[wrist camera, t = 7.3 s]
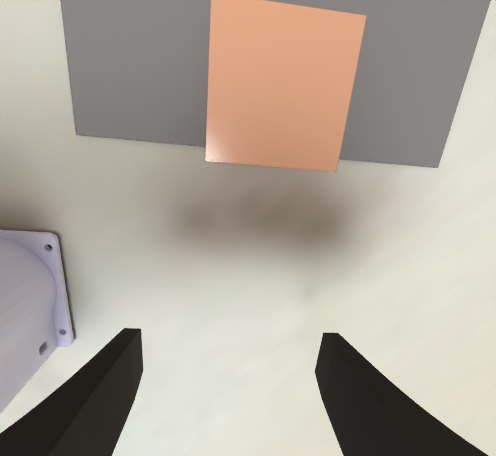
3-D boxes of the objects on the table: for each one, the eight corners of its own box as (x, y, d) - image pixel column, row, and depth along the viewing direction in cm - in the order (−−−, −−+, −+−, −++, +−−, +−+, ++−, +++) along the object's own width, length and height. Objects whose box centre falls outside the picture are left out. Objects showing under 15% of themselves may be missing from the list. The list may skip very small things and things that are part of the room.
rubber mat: (434, 167, 18) (437, 168, 18) (78, 135, 16) (76, 135, 15) (501, -49, 14) (507, -53, 14) (48, -134, 12) (44, -141, 12)
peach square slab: (336, 172, 15) (366, 15, 13) (205, 160, 15) (211, -8, 12) (326, 169, 17) (351, 30, 15) (207, 159, 16) (213, 10, 14)
